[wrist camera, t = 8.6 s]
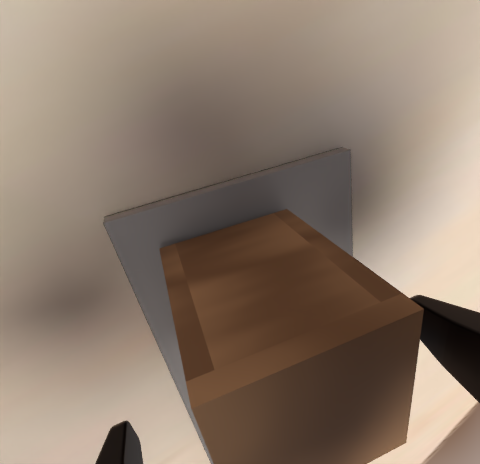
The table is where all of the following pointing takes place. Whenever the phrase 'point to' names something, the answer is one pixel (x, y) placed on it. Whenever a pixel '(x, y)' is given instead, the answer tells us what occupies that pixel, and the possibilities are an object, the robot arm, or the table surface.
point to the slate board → (222, 216)
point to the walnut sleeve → (290, 345)
